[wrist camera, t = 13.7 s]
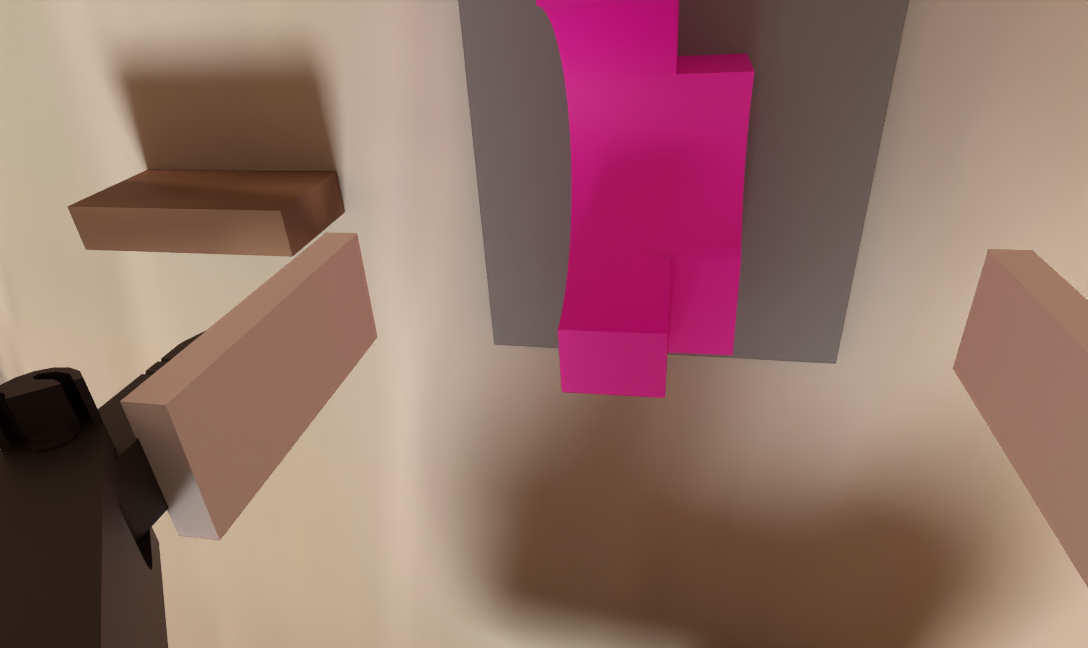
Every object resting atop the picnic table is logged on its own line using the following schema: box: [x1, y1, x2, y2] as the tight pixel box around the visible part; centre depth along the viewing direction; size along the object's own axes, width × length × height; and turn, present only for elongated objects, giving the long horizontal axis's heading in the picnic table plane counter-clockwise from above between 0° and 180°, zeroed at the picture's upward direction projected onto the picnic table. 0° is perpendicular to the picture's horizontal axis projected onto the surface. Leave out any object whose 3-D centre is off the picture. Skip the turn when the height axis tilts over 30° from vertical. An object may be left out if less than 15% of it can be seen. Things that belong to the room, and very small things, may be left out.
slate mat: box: [458, 0, 909, 364], centre depth 27 cm, size 22×16×1 cm
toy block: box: [536, 0, 755, 398], centre depth 24 cm, size 15×6×8 cm, turn 4°
